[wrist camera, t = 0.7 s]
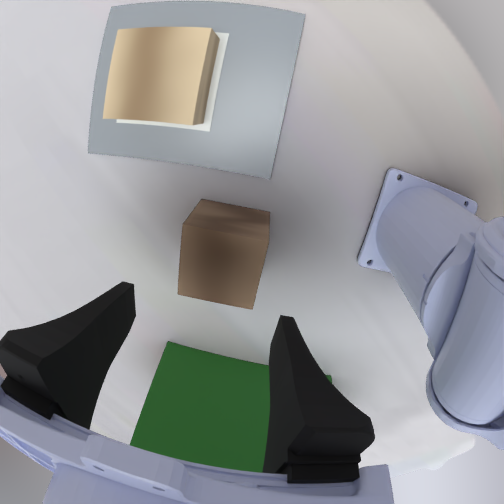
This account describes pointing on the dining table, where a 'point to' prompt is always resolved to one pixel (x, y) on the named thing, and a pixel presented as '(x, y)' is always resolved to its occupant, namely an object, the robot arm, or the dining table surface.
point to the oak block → (161, 74)
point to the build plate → (221, 88)
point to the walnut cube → (223, 253)
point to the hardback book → (207, 410)
